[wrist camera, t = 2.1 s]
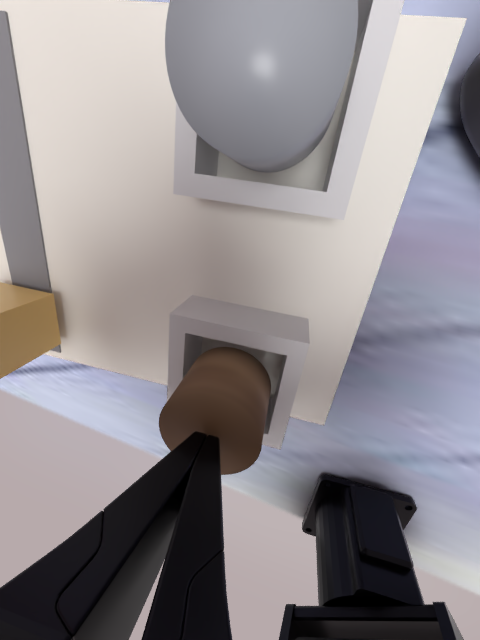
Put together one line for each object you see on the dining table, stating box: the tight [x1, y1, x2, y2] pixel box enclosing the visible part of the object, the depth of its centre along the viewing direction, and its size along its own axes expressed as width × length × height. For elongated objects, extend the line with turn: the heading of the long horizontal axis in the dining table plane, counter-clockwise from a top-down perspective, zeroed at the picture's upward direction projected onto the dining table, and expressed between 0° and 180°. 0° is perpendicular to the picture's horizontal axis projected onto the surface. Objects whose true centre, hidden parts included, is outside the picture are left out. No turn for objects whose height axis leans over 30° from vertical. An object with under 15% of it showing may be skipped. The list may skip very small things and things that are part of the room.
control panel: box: [0, 0, 467, 450], centre depth 13 cm, size 16×22×6 cm
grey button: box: [165, 0, 358, 173], centre depth 6 cm, size 4×4×3 cm
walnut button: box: [159, 347, 271, 475], centre depth 11 cm, size 4×4×3 cm
